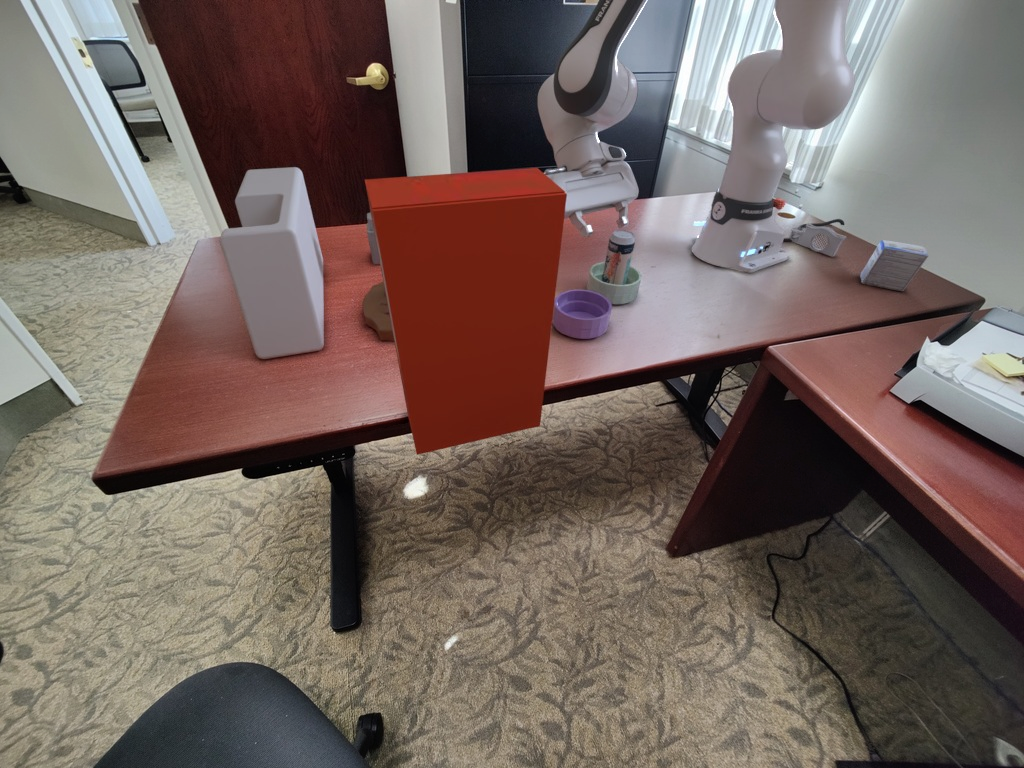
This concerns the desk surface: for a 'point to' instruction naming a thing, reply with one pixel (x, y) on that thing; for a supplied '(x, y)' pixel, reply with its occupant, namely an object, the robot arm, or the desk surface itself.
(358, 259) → the desk surface
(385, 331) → the plant
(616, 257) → the white cylindrical canister
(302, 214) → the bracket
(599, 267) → the celadon bowl
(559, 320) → the lavender bowl
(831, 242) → the grey grilled flat device
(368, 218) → the power adapter
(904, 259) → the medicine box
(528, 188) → the red tall rectangular block
